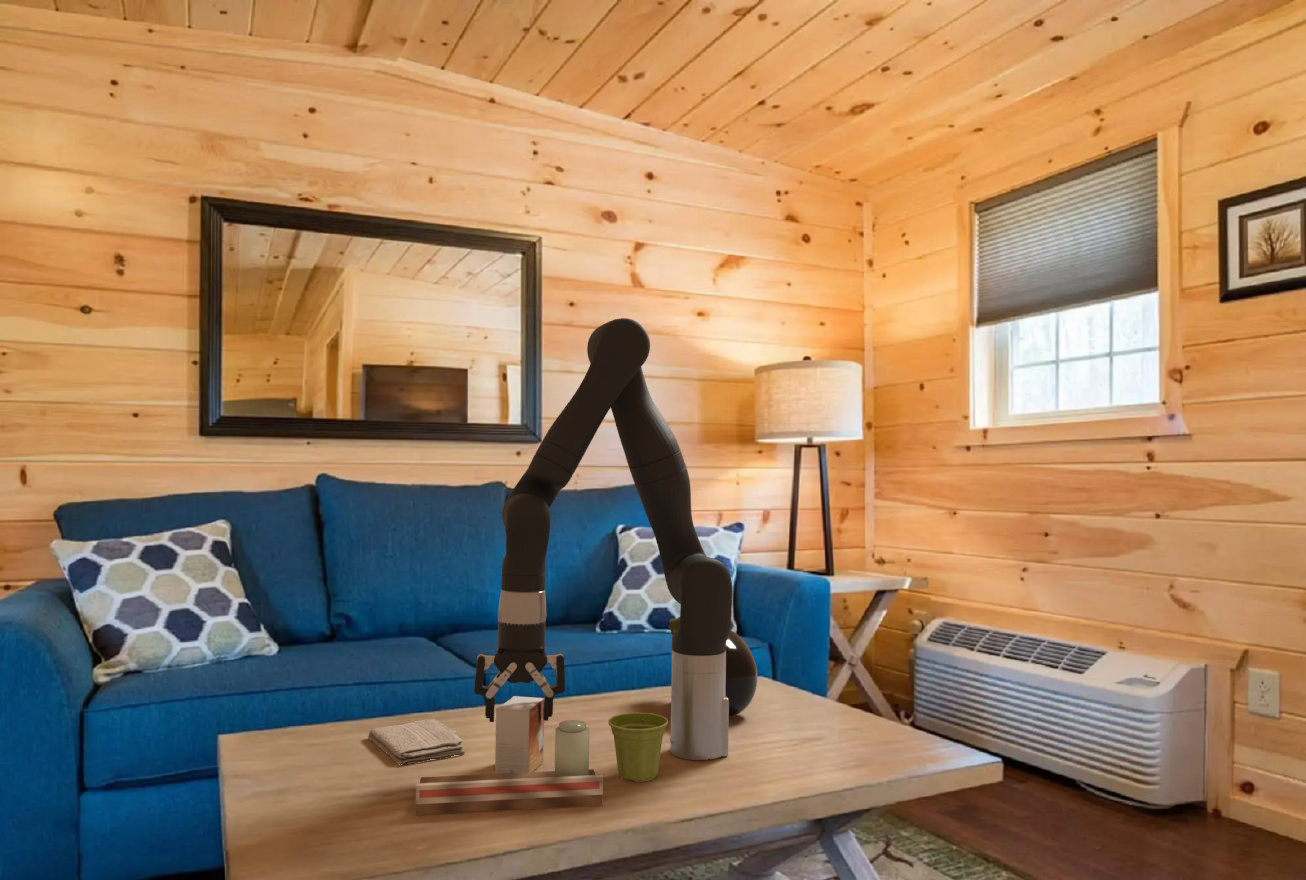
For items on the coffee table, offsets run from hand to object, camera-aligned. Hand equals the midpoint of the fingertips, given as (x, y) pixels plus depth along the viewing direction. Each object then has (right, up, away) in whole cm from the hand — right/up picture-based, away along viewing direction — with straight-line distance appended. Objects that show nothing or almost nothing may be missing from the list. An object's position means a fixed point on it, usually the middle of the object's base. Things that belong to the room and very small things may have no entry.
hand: (518, 720), depth 148 cm
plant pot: (+19, -8, -3) cm, 21 cm away
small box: (0, -8, 0) cm, 8 cm away
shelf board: (0, -7, -12) cm, 14 cm away
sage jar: (+9, -6, -11) cm, 16 cm away
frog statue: (+32, -9, +37) cm, 50 cm away
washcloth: (-19, -8, +11) cm, 23 cm away
